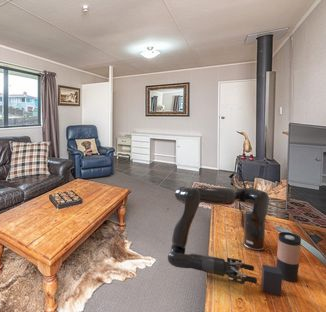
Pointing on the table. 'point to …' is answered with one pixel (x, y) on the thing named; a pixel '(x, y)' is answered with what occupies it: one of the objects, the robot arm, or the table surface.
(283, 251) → the travel mug
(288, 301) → the table surface
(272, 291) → the slate block
